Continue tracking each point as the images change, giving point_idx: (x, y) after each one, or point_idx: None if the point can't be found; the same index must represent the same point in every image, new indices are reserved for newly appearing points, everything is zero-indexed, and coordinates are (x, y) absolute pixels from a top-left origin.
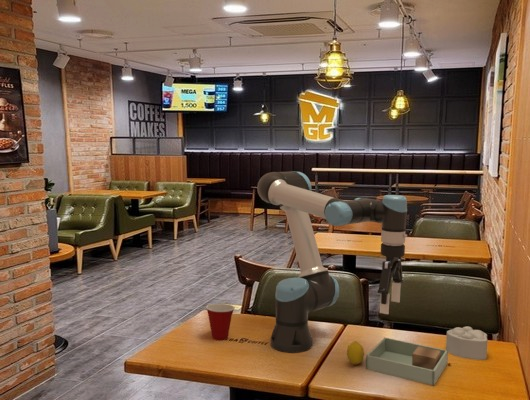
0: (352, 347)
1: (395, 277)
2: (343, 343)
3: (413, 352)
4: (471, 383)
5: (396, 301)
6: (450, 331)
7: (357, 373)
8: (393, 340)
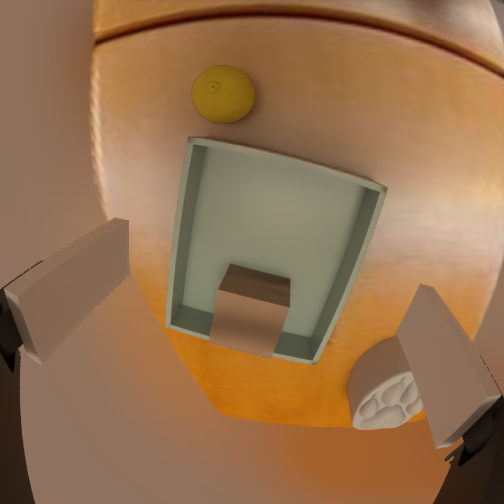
0: (195, 84)
1: (463, 484)
2: (391, 53)
3: (229, 292)
4: (232, 368)
5: (405, 319)
6: (411, 378)
7: (179, 119)
8: (370, 219)
